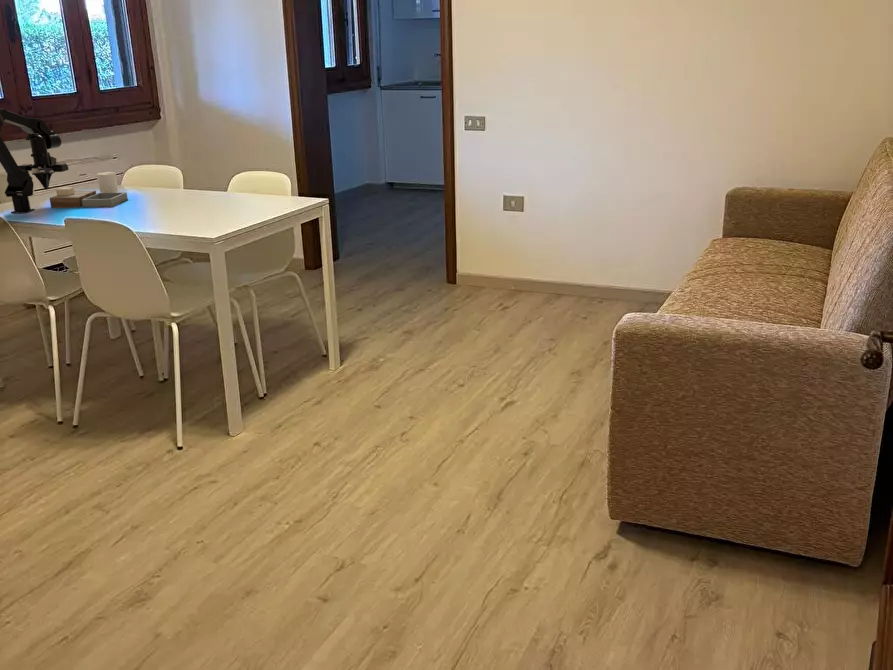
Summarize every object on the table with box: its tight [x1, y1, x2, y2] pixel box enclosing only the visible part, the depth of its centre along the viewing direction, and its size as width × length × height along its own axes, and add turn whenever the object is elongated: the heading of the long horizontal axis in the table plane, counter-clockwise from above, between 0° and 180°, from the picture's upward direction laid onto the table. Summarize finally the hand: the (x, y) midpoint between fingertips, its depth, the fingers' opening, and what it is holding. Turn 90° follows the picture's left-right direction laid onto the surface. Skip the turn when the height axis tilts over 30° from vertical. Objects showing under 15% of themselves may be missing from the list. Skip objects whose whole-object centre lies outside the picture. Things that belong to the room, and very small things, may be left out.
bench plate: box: [49, 190, 97, 209], centre depth 341 cm, size 16×12×4 cm
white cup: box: [96, 171, 119, 193], centre depth 355 cm, size 8×8×10 cm
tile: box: [55, 186, 75, 196], centre depth 340 cm, size 5×5×2 cm
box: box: [82, 191, 128, 208], centre depth 341 cm, size 16×12×3 cm
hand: (46, 189), depth 340 cm, fingers closed
